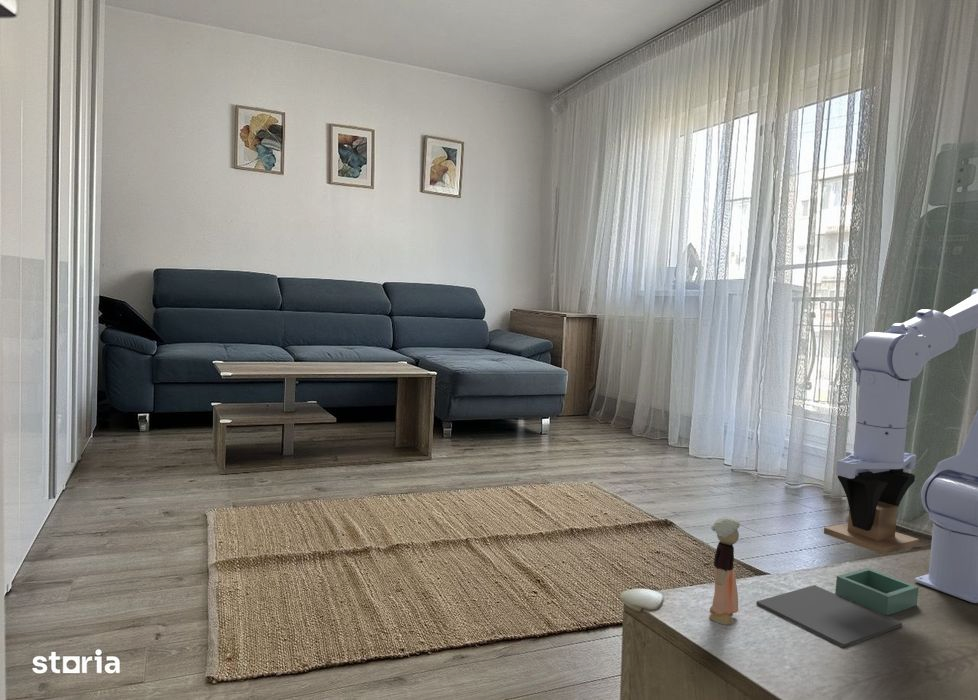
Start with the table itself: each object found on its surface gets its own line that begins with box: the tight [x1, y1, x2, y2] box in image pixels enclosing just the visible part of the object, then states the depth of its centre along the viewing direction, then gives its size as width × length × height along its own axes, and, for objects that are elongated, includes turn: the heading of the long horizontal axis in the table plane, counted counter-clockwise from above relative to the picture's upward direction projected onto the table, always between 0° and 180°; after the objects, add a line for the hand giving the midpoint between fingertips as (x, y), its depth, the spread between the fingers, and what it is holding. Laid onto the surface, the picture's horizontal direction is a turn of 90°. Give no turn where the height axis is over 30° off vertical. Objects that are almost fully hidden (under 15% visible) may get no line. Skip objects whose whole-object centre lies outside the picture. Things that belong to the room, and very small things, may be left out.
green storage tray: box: [834, 567, 919, 616], centre depth 91 cm, size 7×7×2 cm
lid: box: [823, 501, 920, 555], centre depth 89 cm, size 8×8×5 cm
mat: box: [755, 584, 903, 648], centre depth 86 cm, size 12×12×1 cm
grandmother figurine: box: [708, 515, 741, 626], centre depth 84 cm, size 8×4×13 cm, turn 168°
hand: (871, 525), depth 89 cm, fingers closed on lid, 4 cm apart
